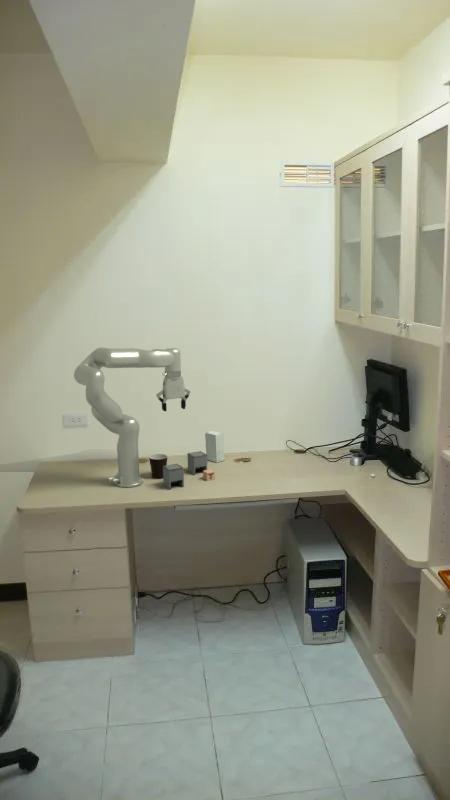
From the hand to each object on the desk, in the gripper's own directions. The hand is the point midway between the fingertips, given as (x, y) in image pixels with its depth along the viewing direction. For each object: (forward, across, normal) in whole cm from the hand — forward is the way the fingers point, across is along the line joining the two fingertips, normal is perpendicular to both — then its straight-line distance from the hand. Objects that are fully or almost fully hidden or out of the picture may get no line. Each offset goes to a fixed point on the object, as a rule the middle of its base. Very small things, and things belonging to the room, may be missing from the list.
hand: (173, 409), depth 278 cm
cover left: (+30, -10, -20) cm, 38 cm away
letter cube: (+30, +8, -20) cm, 37 cm away
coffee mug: (+31, -10, -4) cm, 32 cm away
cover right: (+30, +8, -8) cm, 32 cm away
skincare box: (+31, +24, +4) cm, 39 cm away
